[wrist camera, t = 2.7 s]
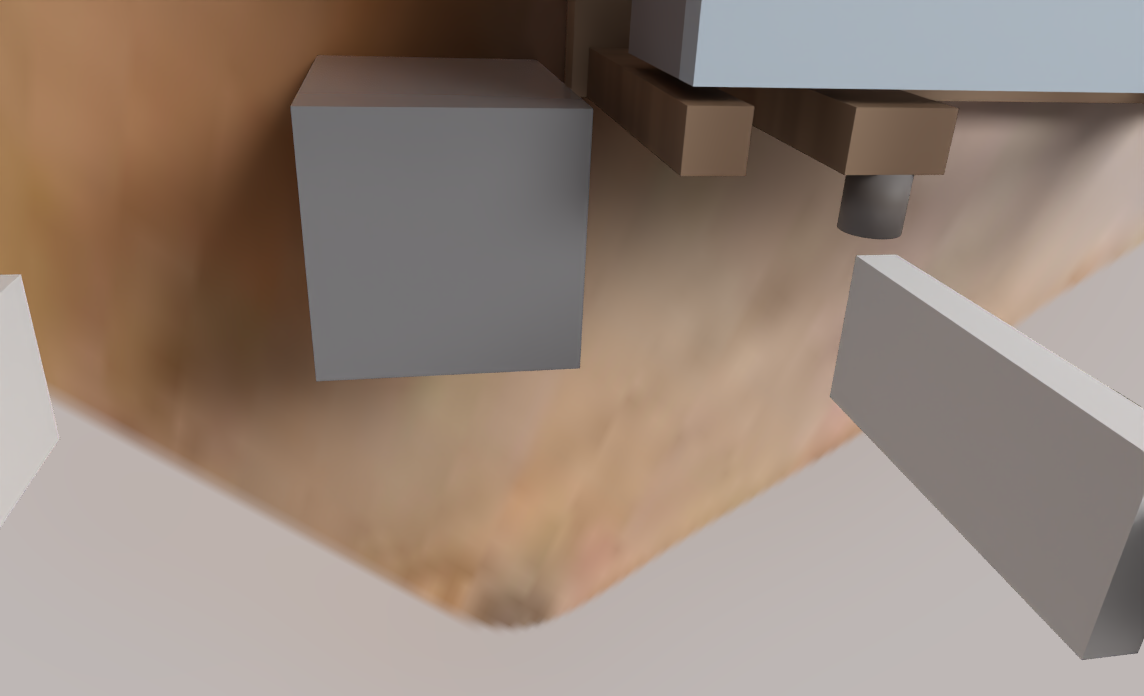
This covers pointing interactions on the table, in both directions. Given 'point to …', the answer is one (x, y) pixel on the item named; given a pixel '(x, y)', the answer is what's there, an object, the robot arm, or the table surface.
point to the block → (442, 215)
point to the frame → (778, 119)
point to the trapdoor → (896, 44)
